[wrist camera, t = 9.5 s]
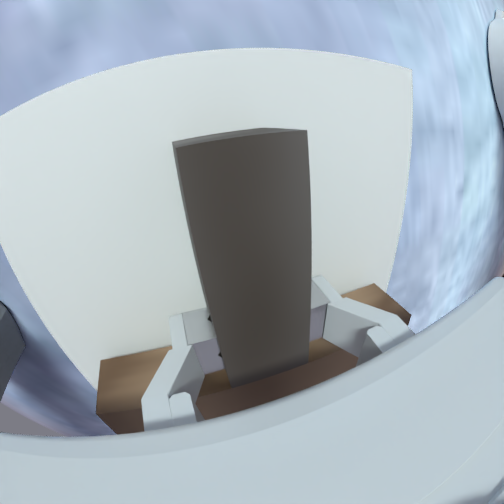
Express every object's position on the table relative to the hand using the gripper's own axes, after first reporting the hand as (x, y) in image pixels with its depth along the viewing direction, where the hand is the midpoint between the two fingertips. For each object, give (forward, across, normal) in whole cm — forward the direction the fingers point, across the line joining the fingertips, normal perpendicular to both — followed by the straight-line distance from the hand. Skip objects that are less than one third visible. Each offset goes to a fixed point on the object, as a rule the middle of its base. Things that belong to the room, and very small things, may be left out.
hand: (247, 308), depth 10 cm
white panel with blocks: (+6, 0, +2) cm, 6 cm away
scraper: (+1, 0, -1) cm, 1 cm away
